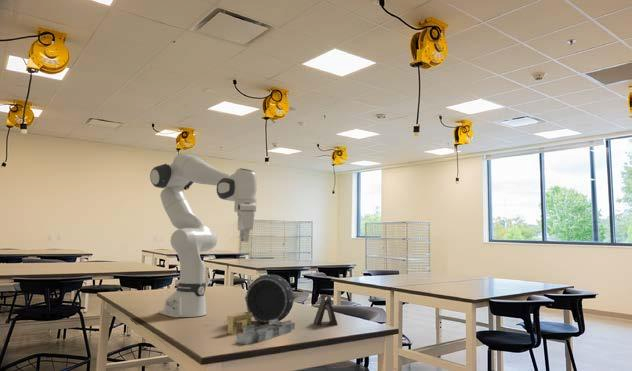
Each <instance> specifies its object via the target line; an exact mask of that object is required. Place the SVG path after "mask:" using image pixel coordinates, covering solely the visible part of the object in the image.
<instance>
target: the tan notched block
mask: <svg viewBox="0 0 632 371" xmlns="http://www.w3.org/2000/svg"><path fill="white" fill-rule="evenodd" d="M252 319H253V316H252V313H251V312H248V311H245V312H240V313H235V314H230V315H227V316H226V322H227V335H231V336H233V335H238V322H241V331H243V327H246V326H249V325H252Z"/></svg>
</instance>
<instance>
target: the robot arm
mask: <svg viewBox="0 0 632 371" xmlns="http://www.w3.org/2000/svg"><path fill="white" fill-rule="evenodd" d="M149 179H150V182H151V184H152V186H154V187H155V188H159V189H162V190H161V192H160V195H159V196H160V200H161V202H162V203H161V204H162V206H163V208H164V211H165V212H166V216H167V217H168V219H169V221H170V222H171V225H173V226H172V227H174V228H175V229H176V230H175V231H173V233H171V237H170V245H171V247H172V249H173V250H174V251H175V252H176V254H177V257H178V259H179V260H178V261H179V266H180V268H179V270H180V271H179V274H180V275H179V282H178V283H175V285H174V287H176V291H175V292H173V293H172V294H171V295H170V296H168V297H167V298H166V299H165V301H164V308H163V309H160V310H158V314H162V315H165V316H169V317H171V318H193V317H202V316H206V315H207V314H208V313H207V312H208V311H207V308H206V306H207V305H206V294H205V292H206V288H207V286H206V285H207V284H206V282H205V281H206V267H207V266H206V264H205V263H204V261H203V260H202V258H201V254H200V253H203V252H208V251H211V250H212V249H214V248H215V247H216V245H217V243H218V237H217V235H216V232H215V231H213V230H211V229H210V227H208V226H207V225H206V224H205V223H203V221H202V220H201V219H200V218H199V217H198V216H197V215H196V213H195V211H194V210H193V208H192V206H191V205H190V203H189V201H188V199H187V198H186V196H185V194H184V190H185V191H186V190H189V189H190V187H191V186H192V185H193V184H194V183H196V184H200V185H209V186H216V194H217V196H218V199H219V198H220V199H221V200H224V201H231V202H234V204H233V205H234V208H233V209H234V210H233V211H234V212H235V213H237V214H236V215H237V231H239V235H240V242H242V243H244V242H249V237H250V231H251V230H253V228H254V223H255V213H256V212H257V197H256V194H257V191H258V190H257V189H258V188H257V186H258V184H257V183H258V182H257V175H256V172H255V171H254V170H251V169H247V168H242V167H241V168H237V169H236V170H235V172H233V173H232V174H231V175H229V174H227V173H225V172H222V171H221V170H220V169H217V168H216V167H214V166H212V165H211V164H209V163H208V162H206V161H205V160H202V159H201V158H200V157H198V156H195V155H193V154H189V153H185V152H184V153H183V152H182V153H179V154H177V155H175V157H174V158H173V161H172V163H171V164H167V163H163V164H159V165H156V166H154V167H153V168H152V169H151V172H150V174H149Z"/></svg>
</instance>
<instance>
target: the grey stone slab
mask: <svg viewBox="0 0 632 371" xmlns="http://www.w3.org/2000/svg"><path fill="white" fill-rule="evenodd" d="M295 329H296V322H292V320H290V319H289V320H285V321H282V322H281V321H279V322H278V318H276V319H272V320H269V324H265V323H264V324H262V325H258V326H255V324H251V325H249V326H246V327H243V330H242V333H241V334H239V335H238V334H236V344H241V345H245V346H246V345H250V344H253V343H255V342H256V343H261V342H263V341H268V340H270V339H273V338H276V337H279V336H282V335H285V334H288V333H291V332H292V330H295Z"/></svg>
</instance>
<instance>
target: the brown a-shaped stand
mask: <svg viewBox="0 0 632 371" xmlns="http://www.w3.org/2000/svg"><path fill="white" fill-rule="evenodd" d="M325 311H327V314H328V315H327V316H328V319H329V320H328V321H323V319H324V315H325ZM313 323H314V325H316V326H317V325H327V326H338V324H339V323H338V321H337V318H336V315H335V311H334V309H333V305H332V298H331V296H329V295H328V294H326V293H325V294H323V293H322V294H321V296H320V303H319V306H318V309H317V312H316V315H315V317H314V320H313Z"/></svg>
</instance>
